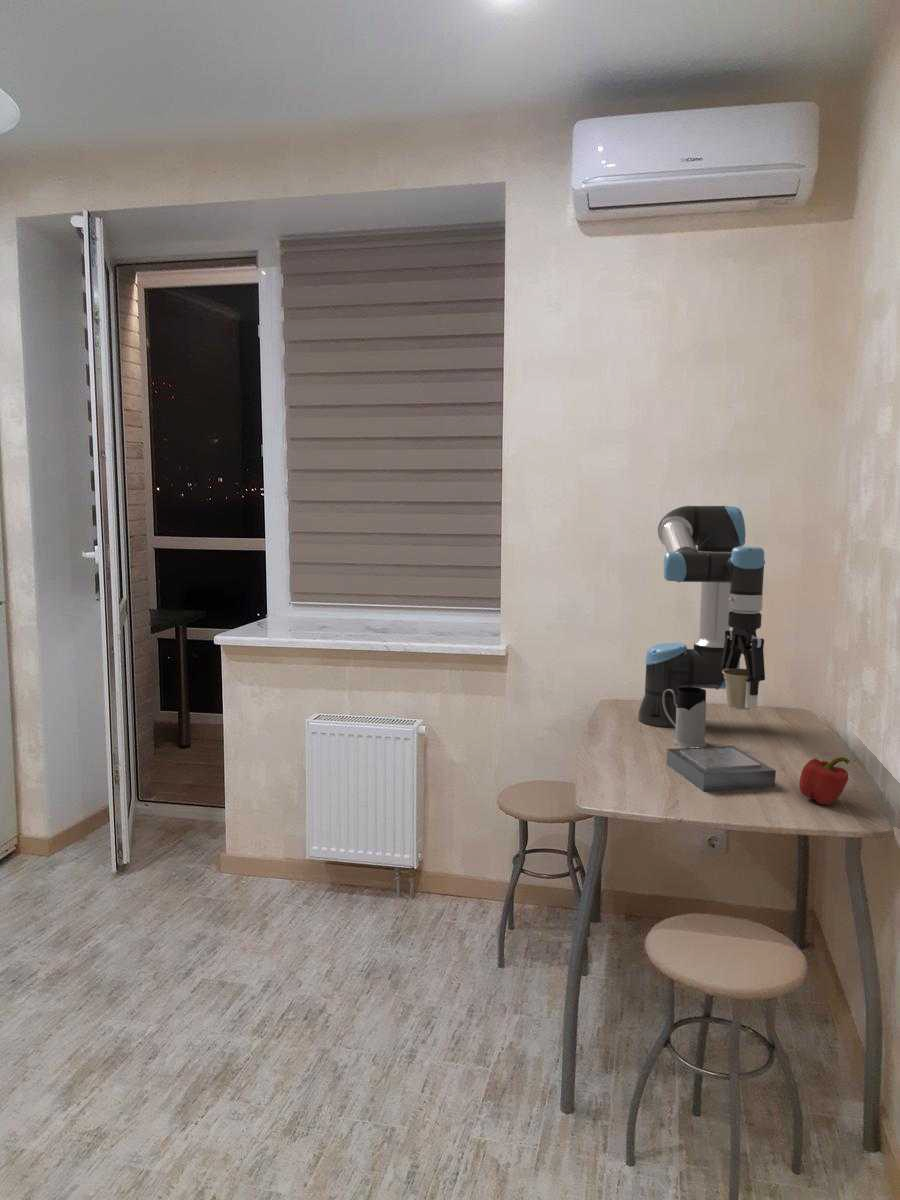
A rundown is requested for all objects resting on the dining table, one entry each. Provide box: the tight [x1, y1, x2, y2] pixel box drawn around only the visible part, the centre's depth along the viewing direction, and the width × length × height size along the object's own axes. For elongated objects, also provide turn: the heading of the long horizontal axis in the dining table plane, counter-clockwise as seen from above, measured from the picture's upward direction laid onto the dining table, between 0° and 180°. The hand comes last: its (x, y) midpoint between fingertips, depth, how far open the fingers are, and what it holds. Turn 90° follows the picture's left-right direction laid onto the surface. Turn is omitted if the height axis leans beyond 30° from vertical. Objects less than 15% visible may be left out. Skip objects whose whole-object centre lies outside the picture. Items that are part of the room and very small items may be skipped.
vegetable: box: [799, 757, 851, 805], centre depth 192 cm, size 11×10×10 cm
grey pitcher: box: [662, 687, 707, 748], centre depth 237 cm, size 9×14×15 cm, turn 36°
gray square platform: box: [666, 745, 777, 792], centre depth 209 cm, size 20×18×4 cm
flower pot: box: [722, 667, 760, 711], centre depth 208 cm, size 9×9×9 cm
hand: (740, 703), depth 209 cm, fingers closed on flower pot, 8 cm apart
